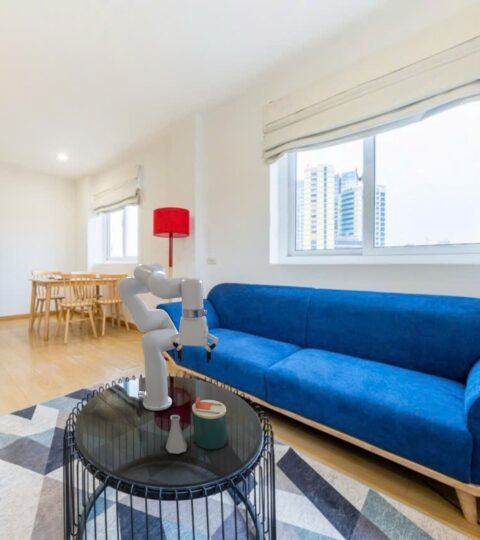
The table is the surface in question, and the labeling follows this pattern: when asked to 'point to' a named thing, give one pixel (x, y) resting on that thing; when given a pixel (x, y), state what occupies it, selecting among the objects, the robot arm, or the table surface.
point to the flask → (176, 437)
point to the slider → (202, 405)
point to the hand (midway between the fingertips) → (194, 361)
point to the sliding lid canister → (210, 425)
